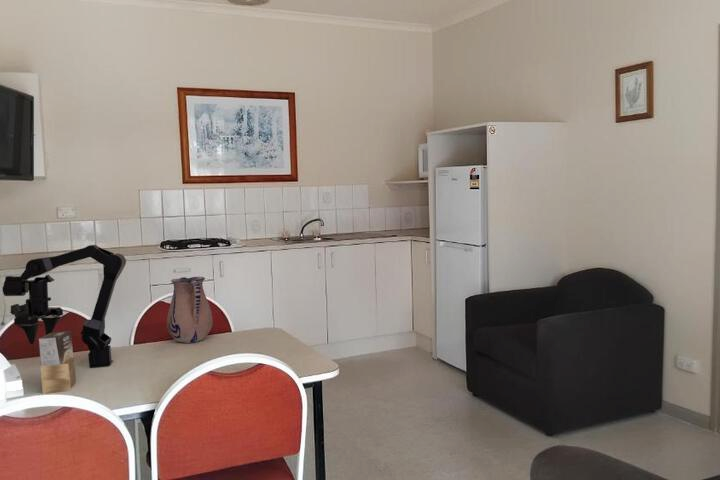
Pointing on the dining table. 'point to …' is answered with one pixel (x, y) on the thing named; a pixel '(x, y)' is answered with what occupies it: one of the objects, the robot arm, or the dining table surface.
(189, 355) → the dining table surface
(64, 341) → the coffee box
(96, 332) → the robot arm
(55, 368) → the tan wooden block
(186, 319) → the ceramic pitcher
